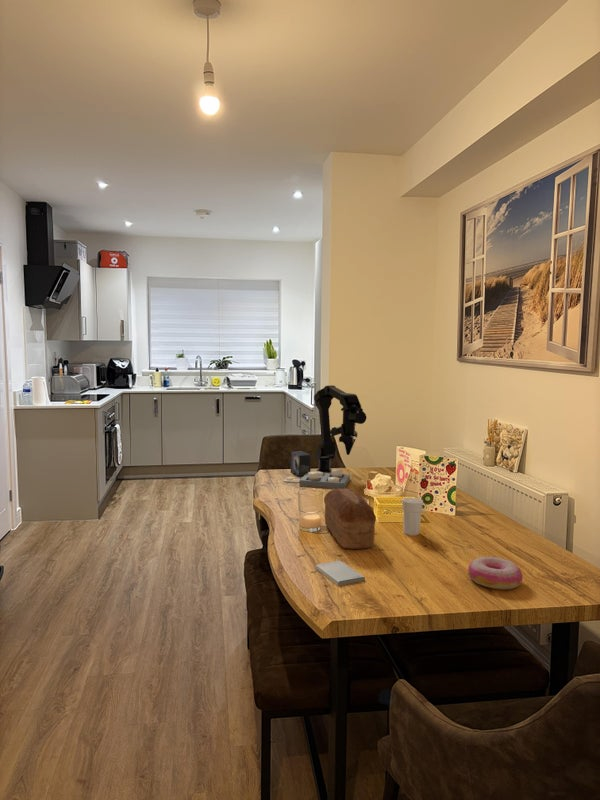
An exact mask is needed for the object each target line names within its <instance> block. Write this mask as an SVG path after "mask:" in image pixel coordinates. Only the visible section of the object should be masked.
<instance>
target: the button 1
mask: <svg viewBox="0 0 600 800" xmlns="http://www.w3.org/2000/svg"><path fill="white" fill-rule="evenodd" d="M319 472H320V471H310V472H308V480H314V481H318V480H319Z"/></svg>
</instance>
